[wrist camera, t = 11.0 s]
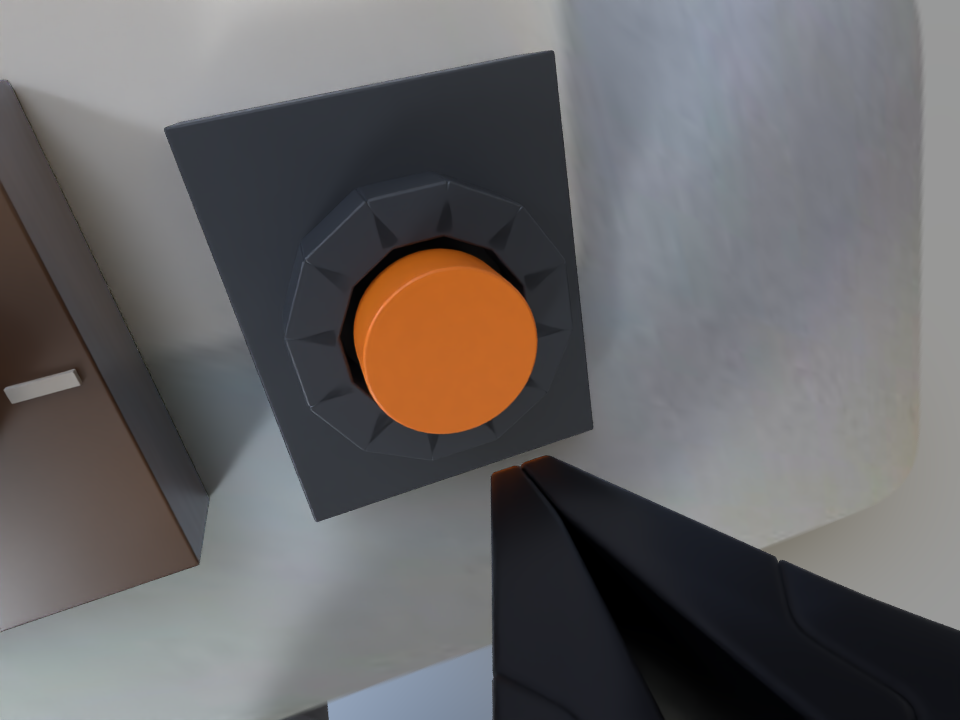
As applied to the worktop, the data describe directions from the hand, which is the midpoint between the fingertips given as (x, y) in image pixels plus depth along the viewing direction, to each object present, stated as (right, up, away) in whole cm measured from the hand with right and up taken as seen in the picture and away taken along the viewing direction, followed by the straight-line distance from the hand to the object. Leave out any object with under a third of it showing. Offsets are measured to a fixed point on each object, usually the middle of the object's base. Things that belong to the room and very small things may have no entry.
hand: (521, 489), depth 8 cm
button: (-2, +3, +7) cm, 7 cm away
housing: (-3, +4, +10) cm, 11 cm away
